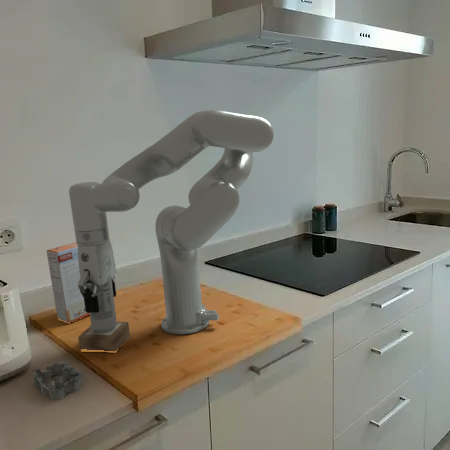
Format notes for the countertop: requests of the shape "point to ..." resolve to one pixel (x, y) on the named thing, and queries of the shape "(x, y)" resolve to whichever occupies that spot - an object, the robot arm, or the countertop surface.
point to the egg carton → (58, 380)
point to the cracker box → (66, 282)
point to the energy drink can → (104, 308)
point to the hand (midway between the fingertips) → (101, 304)
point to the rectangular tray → (105, 338)
